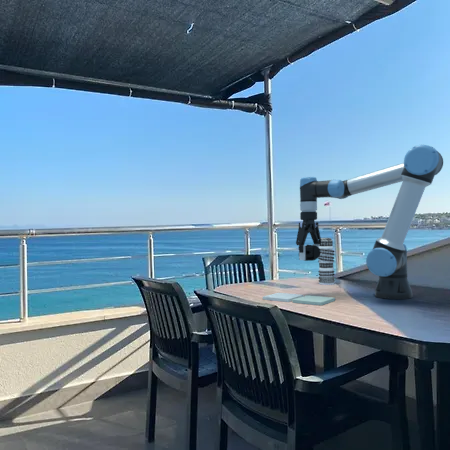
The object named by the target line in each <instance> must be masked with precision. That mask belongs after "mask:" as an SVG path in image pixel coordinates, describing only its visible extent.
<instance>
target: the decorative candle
mask: <svg viewBox="0 0 450 450" xmlns="http://www.w3.org/2000/svg"><path fill="white" fill-rule="evenodd" d="M333 241H334V240H333V238H331V237H321V244H319V249H320V256H319V258H317V259H318V261H317V262H318V284H319V285H325V286H328V285H329V286H330V285H331V286H332V285H335V282H336V280H335V269H334V263H335V260H334V259H335V257H334V256H335V250H334V245H333V243H334V242H333Z"/></svg>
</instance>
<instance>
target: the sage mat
mask: <svg viewBox="0 0 450 450" xmlns="http://www.w3.org/2000/svg"><path fill="white" fill-rule="evenodd" d="M335 301H336V297H330V296H322V295H321V296H318V295H309V294H308V295H305V296H304V295H303V297H300V298H296V299H293V300H292V301H291V302H292V303H294V304H304V305H305V304H306V305H313V306H325V305H327V304H330V303H333V302H335Z"/></svg>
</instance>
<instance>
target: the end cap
mask: <svg viewBox="0 0 450 450" xmlns="http://www.w3.org/2000/svg"><path fill="white" fill-rule="evenodd" d="M319 256H320V249H319V247H317V246H315V245H313V244H306V245H305V260H303V261H305V262H308V261H309V262H311V261H313V262H314V261H316V260H317V259H318V257H319Z"/></svg>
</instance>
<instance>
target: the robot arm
mask: <svg viewBox="0 0 450 450" xmlns="http://www.w3.org/2000/svg"><path fill="white" fill-rule="evenodd" d="M443 166H444V158H443V156H442V154H441V153H440V152H439V151H438V150H437V149H436V148H435V147H433V146H431V145H427V144H419V145H414V146H412V147H411V148H410V149H408V150H407V151H406V153H405V155H404V158H403V162H402V163H398V164H395V165H392V166H388V167H385V168H382V169H379V170H375V171H372V172H368V173H365V174H362V175H359V176H355V177H352V178H348V179H345V180H341V179H329V180H317V177H315V176H304V177H301V178H300V181H299V199H300V201H299V202H300V203H299V209H300V213H299V214H300V216H299V217H300V218H299V219H300V220H301V221H302V222H298V230H297V234H296V240H295V244H296V246H298V260H299V261H304V260H305V246H306V245H305V243H306V241H307V239H308V238H307V237H308V234H310V237H311V240H312V243H313V244H312V245H315V246H317V247H319V244H321V238H322V237H321V233H320V227H319V222H318V221H317V219H318V212H317V211H318V198H319V199H320V198H332V199H339V200H342V199H346V198H348V197H350V196H353V195H358V194H361V193H364V192H368V191H372V190H376V189H379V188H383V187H387V186H390V185H391V186H392V185H394V184H398V183H401V185H400V188H399V190H398V193H397V196H396V198H395V201H394V203H393V206H392V209H391V211H390V214H389V216H388V220H387V222H386V224H385V226H384V230H383V232H382V235H381V236H380V237H379V238H376V239H375V242H374V245H373V247H372V249H371V250H370V251H369V252H368V253H367V255H366V258H365V263H366V266H367V269H368V270H369V272H370V273H372V274H373V275H374V276H377V277H378V280H377V283H376V287H375V289H374V290H375V291H374V296H375V297H377V298H380V299H388V300H389V299H390V300H404V299H405V300H406V299H411V298H413V291H412V288H411V285H410V283H409V280H408V279H409V278H408V250H407V249H408V248H407V245H406V244H404V242H405V239H406V237H407V235H408V232H409V229H410V227H411V224H412V223H413V220H414V218H415V214H416V212H417V210H418V207H419V205H420V202H421V199H422V197H423V194H424V192H425V189H426V188H427V187H429V186H431V185H432V183H433V180H434V178H435V176H437V175H438V174H439V173H440V172H441V170H442V169H443ZM318 258H319V257H318ZM318 258H317V259H318Z"/></svg>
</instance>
